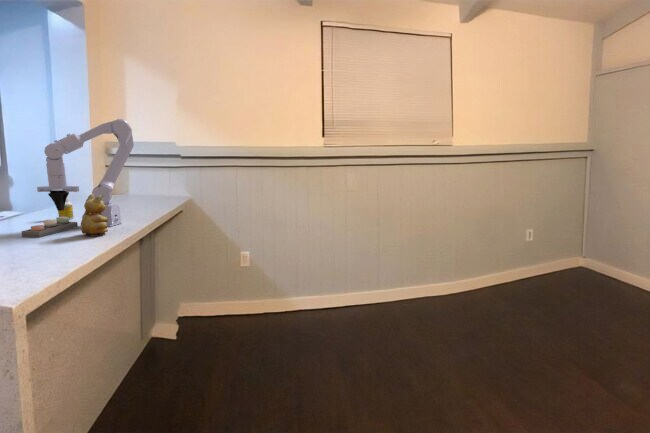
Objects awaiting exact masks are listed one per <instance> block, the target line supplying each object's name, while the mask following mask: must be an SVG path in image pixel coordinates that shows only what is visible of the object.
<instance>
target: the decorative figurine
mask: <svg viewBox="0 0 650 433" xmlns="http://www.w3.org/2000/svg"><path fill="white" fill-rule="evenodd" d="M101 198H102V196H101V195H99V196H97V197H96V198H95V196H94V194H92V193H91V194H89V195H88V196H87V198H86V200H85V203H84V213H83V215H81V216H82V217H81V222H80V230H81V233H82V234H84V235H85V236H87V237H88V236H89V237H98V236H99V237H100V236H104V235H106V233H107V232H108V231H109V230H108V226H107V221H108V219H107V217H104V216H103V215H102V213H101V212H103V211H104V210H105V208H106V207H105V205H104V202H103V201H102V200H101Z"/></svg>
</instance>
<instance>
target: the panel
mask: <svg viewBox="0 0 650 433" xmlns="http://www.w3.org/2000/svg"><path fill="white" fill-rule="evenodd" d="M75 227H76V228H78V227H79V225H78V221H69V222H68V223H62V224H58V223H57V226H51V227H45V226H44V230H42V231H31V228H30V229H29V228H28V229H26V230H25V229H24V230H21V231H20V232H21V237H22V238H43V237H46V236H49V235H53V234H57V233H58V234H59V233H60V232H64V231H68V230H72V229H75Z"/></svg>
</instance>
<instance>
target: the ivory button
mask: <svg viewBox="0 0 650 433" xmlns="http://www.w3.org/2000/svg"><path fill="white" fill-rule="evenodd" d="M43 225H44V226H45V227H51V226H57V219H56V218H54V219H52V218H51V219H46V220H45V219H44V220H43Z"/></svg>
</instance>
